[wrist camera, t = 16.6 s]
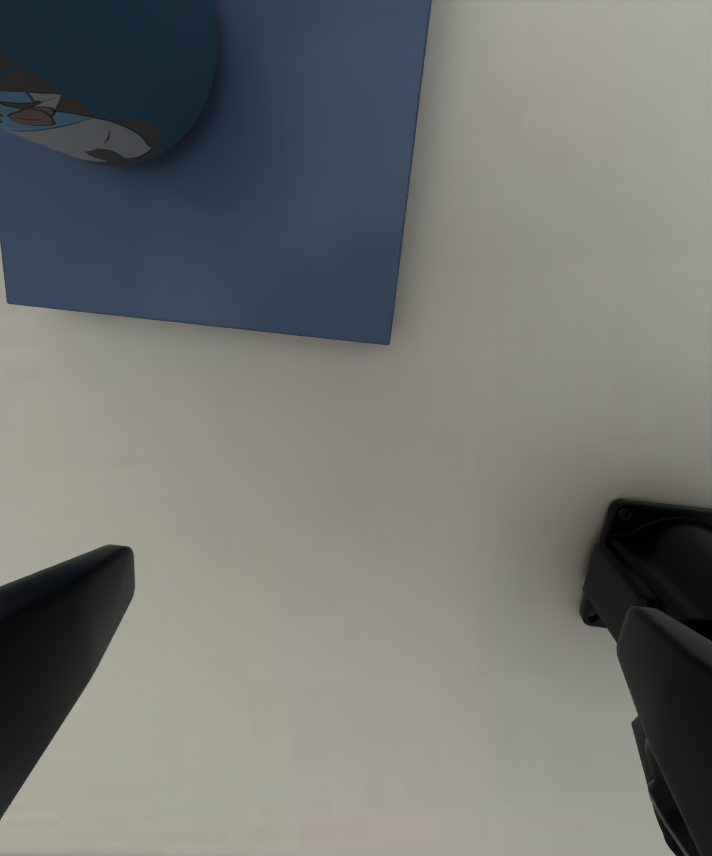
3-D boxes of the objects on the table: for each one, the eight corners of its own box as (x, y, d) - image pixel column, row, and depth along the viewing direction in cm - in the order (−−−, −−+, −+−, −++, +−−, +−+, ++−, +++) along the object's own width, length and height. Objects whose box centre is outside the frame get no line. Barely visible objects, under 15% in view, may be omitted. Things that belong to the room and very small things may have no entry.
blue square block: (437, -71, 16) (449, -146, 13) (388, 336, 20) (389, 345, 17) (26, -109, 16) (-49, -191, 14) (58, 300, 20) (6, 303, 18)
